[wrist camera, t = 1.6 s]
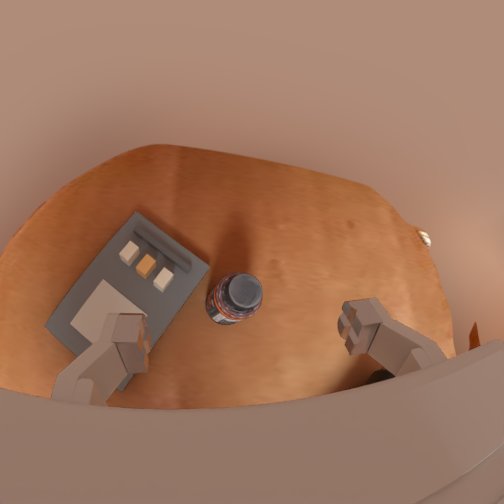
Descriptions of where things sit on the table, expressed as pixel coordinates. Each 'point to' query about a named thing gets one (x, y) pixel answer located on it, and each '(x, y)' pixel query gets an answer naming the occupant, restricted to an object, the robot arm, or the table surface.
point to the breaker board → (128, 286)
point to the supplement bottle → (234, 298)
